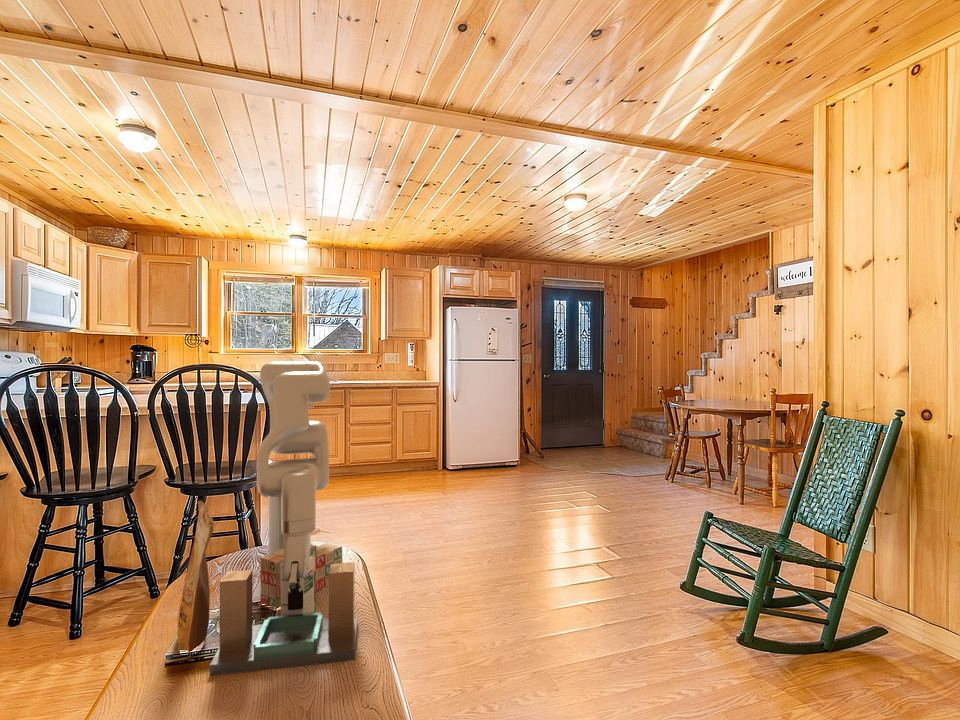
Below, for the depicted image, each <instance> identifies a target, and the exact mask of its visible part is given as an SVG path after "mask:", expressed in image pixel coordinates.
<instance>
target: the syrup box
mask: <svg viewBox="0 0 960 720" xmlns="http://www.w3.org/2000/svg"><path fill="white" fill-rule="evenodd" d="M298 567H299V565H298ZM300 575H301V574H300V572H299V573H298V574H297V577H300ZM289 576H290V575H289ZM297 583H298V584H299V580H297ZM288 588H289V577H288V579H286V580H283V563H281V564H280V589H281V610H280V616H285V615H296V614H307V613H317V602H316V601H317V595H316V593H317V592H316V579H315V556H312V555H310V558H309V561H308V567H307V573H306V576H305V577H304V578H303V579H302V590H303V609H299V610H288Z"/></svg>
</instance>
